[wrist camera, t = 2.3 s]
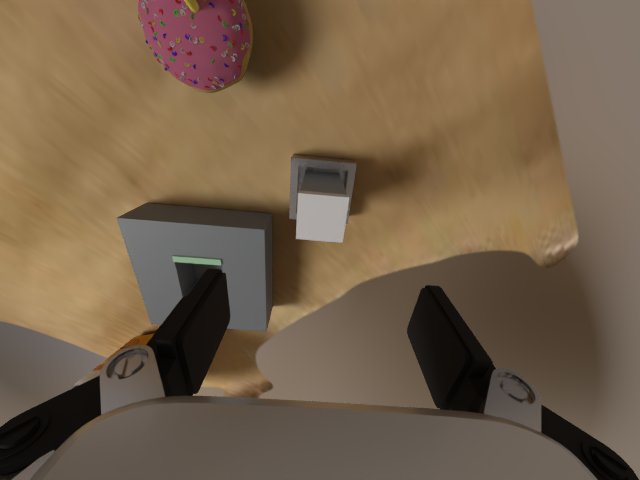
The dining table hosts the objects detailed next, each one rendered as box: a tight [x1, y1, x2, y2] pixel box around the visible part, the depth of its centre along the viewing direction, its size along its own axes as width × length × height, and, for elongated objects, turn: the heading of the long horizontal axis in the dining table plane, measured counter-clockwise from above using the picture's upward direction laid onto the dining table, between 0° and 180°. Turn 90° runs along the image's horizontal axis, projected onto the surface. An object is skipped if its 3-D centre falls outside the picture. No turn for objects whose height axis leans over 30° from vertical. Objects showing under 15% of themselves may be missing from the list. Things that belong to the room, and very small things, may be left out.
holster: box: [289, 154, 357, 224], centre depth 28 cm, size 7×7×2 cm
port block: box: [117, 203, 273, 331], centre depth 32 cm, size 16×16×5 cm
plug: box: [296, 170, 349, 243], centre depth 25 cm, size 4×4×10 cm
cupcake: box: [138, 0, 253, 93], centre depth 18 cm, size 9×8×12 cm
